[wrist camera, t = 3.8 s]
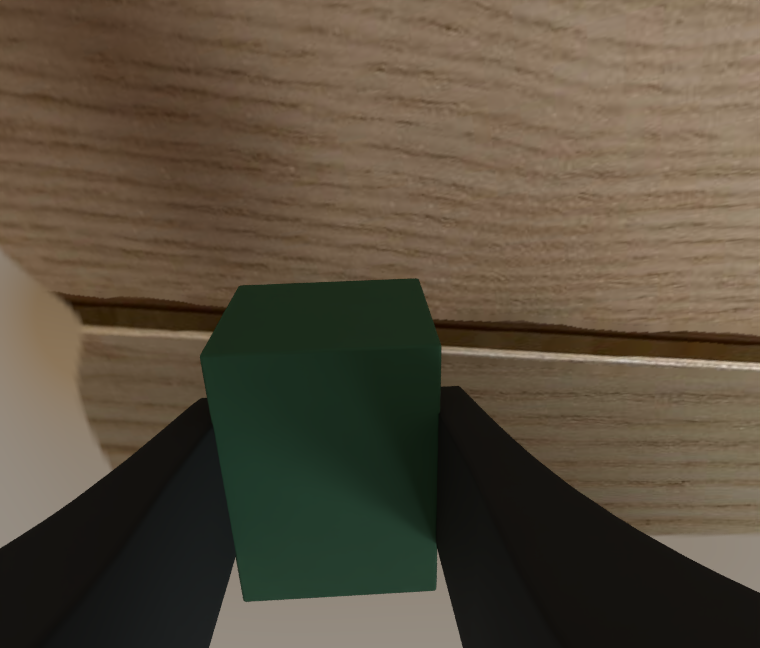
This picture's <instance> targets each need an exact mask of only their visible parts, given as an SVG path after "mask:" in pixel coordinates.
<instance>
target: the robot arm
mask: <svg viewBox="0 0 760 648" xmlns="http://www.w3.org/2000/svg"><path fill="white" fill-rule="evenodd" d="M436 545H437V549H438V553H439V557H440V561H441V565H442V568H443V572H444V576H445V580H446V584H447V588H448V592H449V596H450V599H451V603H452V607H453V611H454V615H455V619H456V622H457V626H458V630H459V634H460V638H461V642H462V646H463V648H760V593H759V592H757V591H754V590H752V589H750V588H748V587H746V586H744V585H742V584H740V583H738V582H735V581H733V580H731V579H729V578H727V577H725V576H723V575H721V574H719V573H716V572H715V571H713V570H711V569H709V568H707V567H705V566H702V565H701V564H699V563H697V562H695V561H693V560H691V559H689V558H687V557H685V556H684V555H682V554H680V553H678V552H676V551H674V550H673V549H671V548H669V547H667V546H666V545H664V544H662V543H660V542H658V541H657V540H655V539H653V538H652V537H650V536H648V535H646V534H644V533H643V532H641V531H639V530H637V529H636V528H634V527H632V526H631V525H629V524H628V523H626V522H624V521H623V520H621V519H619V518H618V517H616V516H615V515H613V514H612V513H610V512H609V511H607V510H606V509H604V508H603V507H601V506H600V505H598V504H597V503H595V502H594V501H592V500H591V499H589V498H588V497H586V496H585V495H583V494H582V493H580V492H579V491H577V490H576V489H575V488H573V487H572V486H570V485H569V484H568V483H566V482H565V481H564V480H562V479H561V478H560V477H558V476H557V475H556V474H555V473H553V472H552V471H551V470H550V469H548V468H547V467H546V466H545V465H543V464H542V463H541V462H539V461H538V460H537V459H536V458H535V457H533V456H532V455H531V454H530V453H529V452H527V451H526V450H525V449H524V448H523V447H522V446H521V445H520V444H518V443H517V442H516V441H515V440H514V439H513V438H512V437H511V436H510V435H508V434H507V433H506V432H505V431H504V430H503V429H502V428H501V427H500V426H499V425H498V424H497V423H496V422H495V421H494V420H493V419H492V418H491V417H490V416H489V415H488V414H487V413H486V412H485V411H484V410H483V409H482V408H481V407H480V406H479V405H478V404H477V403H476V402H475V401H474V400H473V399H472V398H471V397H470V396H469V395H468V394H467V393H466V392H465V391H464V390H463V389H462V388H461V387H459V386H447V387H441V393H440V413H439V422H438V472H437V522H436ZM235 557H236V551H235V546H234V540H233V535H232V529H231V523H230V518H229V512H228V507H227V501H226V495H225V490H224V484H223V479H222V473H221V467H220V462H219V456H218V451H217V445H216V439H215V434H214V428H213V424H212V422H211V417H210V411H209V405H208V400H207V398H201V399H199V400H198V401H197V402H195V403H194V404H193V405H191V406H190V407H189V408H188V409H187V410H185V411H184V412H183V413H182V414H181V415H179V416H178V417H177V418H176V419H175V420H174V421H172V422H171V423H170V424H169V425H168V426H167V427H165V428H164V429H163V430H162V431H161V432H159V433H158V434H157V435H156V436H155V437H153V438H152V439H151V440H150V441H149V442H147V443H146V444H145V445H144V446H143V447H141V448H140V449H139V450H138V451H137V452H135V453H134V454H133V455H132V456H131V457H129V458H128V459H127V460H126V461H125V462H123V463H122V464H121V465H119V466H118V467H117V468H115V469H114V470H113V471H111V472H110V473H109V474H108V475H106V476H105V477H104V478H102V479H101V480H100V481H98V482H97V483H96V484H94V485H93V486H92V487H90V488H89V489H88V490H86V491H85V492H84V493H82V494H81V495H80V496H78V497H77V498H76V499H75V500H73V501H72V502H70V503H69V504H68V505H66V506H65V507H63V508H62V509H60V510H59V511H57V512H56V513H55V514H53V515H52V516H50V517H49V518H47V519H46V520H44V521H43V522H41V523H40V524H38V525H37V526H35V527H33V528H32V529H30V530H29V531H27V532H25V533H24V534H23V535H21V536H19V537H18V538H16V539H14V540H13V541H11V542H10V543H8V544H7V545H5V546H3V547H2V548H0V648H209V646H210V642H211V639H212V635H213V632H214V629H215V625H216V622H217V618H218V615H219V611H220V608H221V605H222V601H223V598H224V595H225V591H226V588H227V584H228V581H229V577H230V574H231V570H232V567H233V563H234V560H235Z"/></svg>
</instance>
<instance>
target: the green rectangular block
mask: <svg viewBox="0 0 760 648" xmlns="http://www.w3.org/2000/svg"><path fill="white" fill-rule="evenodd" d="M200 361H201V366H202V372H203V378H204V383H205V389H206V394H207V400H208V405H209V411H210V417H211V422H212V424H213V428H214V434H215V439H216V445H217V451H218V456H219V462H220V467H221V473H222V479H223V484H224V490H225V495H226V501H227V507H228V512H229V518H230V523H231V529H232V535H233V540H234V546H235V551H236V561H237V567H238V572H239V578H240V584H241V589H242V595H243V600H244V601H245V602H250V601H267V600H284V599H301V598H318V597H335V596H352V595H369V594H386V593H403V592H420V591H434V590H436V582H437V580H436V579H437V545H436V522H437V472H438V422H439V413H440V393H441V343H440V341H439V338H438V335H437V332H436V329H435V326H434V323H433V320H432V317H431V314H430V311H429V308H428V305H427V302H426V299H425V296H424V293H423V290H422V287H421V285H420V282H419V279H417V278H415V279H390V280H365V281H341V282H316V283H291V284H267V285H242V286H239V287H238V289H237V290H236V292H235V294H234V296H233V298H232V299H231V301H230V303H229V305H228V306H227V308H226V310H225V312H224V314H223V315H222V317H221V319H220V321H219V323H218V324H217V326H216V328H215V330H214V331H213V333H212V335H211V337H210V339H209V340H208V342H207V344H206V346H205V348H204V349H203V351H202V353H201V355H200Z"/></svg>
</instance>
